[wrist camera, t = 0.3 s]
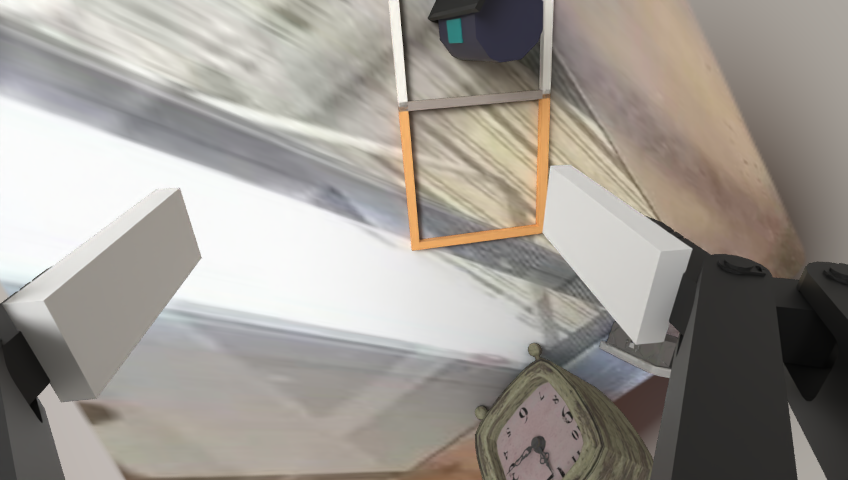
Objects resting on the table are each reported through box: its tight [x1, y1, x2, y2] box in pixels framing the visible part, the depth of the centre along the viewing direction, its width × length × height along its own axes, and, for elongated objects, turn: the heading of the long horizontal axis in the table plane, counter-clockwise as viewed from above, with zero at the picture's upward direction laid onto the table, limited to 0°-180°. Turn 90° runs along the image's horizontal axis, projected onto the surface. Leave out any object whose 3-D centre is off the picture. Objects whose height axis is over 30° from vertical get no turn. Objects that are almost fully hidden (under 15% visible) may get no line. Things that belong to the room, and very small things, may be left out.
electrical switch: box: [599, 322, 678, 378], centre depth 49 cm, size 9×5×9 cm, turn 72°
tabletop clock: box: [475, 343, 653, 480], centre depth 41 cm, size 14×9×25 cm, turn 144°
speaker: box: [428, 0, 543, 62], centre depth 32 cm, size 8×6×10 cm
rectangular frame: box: [388, 0, 554, 251], centre depth 39 cm, size 28×15×1 cm, turn 5°
